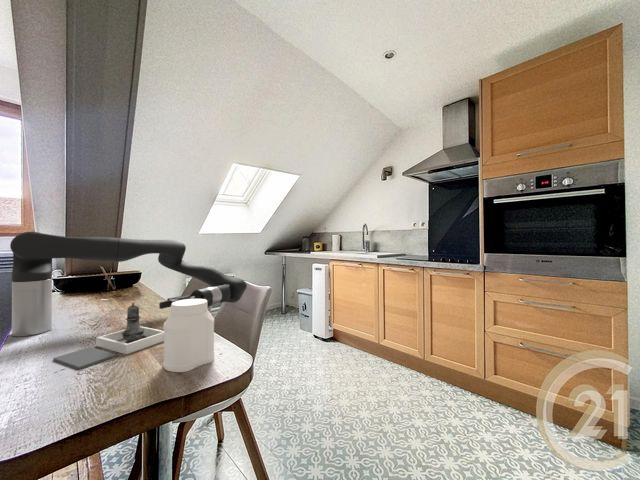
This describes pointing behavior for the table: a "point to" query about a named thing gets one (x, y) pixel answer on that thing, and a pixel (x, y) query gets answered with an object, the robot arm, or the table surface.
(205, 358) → the jar
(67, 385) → the table surface
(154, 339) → the frame
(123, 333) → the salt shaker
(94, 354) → the rubber mat
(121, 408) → the table surface
